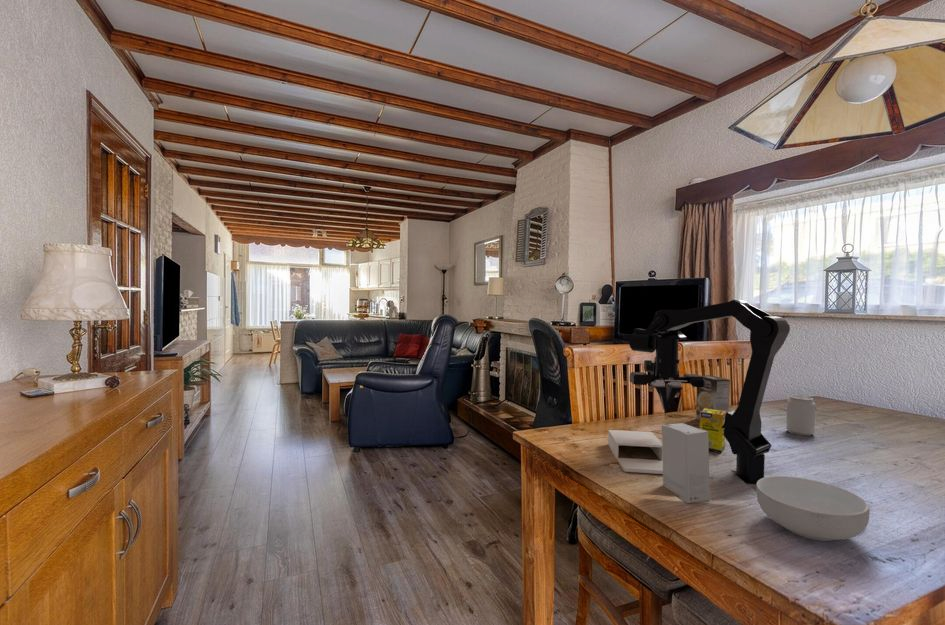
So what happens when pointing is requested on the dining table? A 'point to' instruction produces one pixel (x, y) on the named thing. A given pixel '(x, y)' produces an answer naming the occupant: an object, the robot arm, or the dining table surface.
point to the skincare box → (686, 462)
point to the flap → (641, 465)
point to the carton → (634, 441)
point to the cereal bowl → (812, 508)
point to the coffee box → (713, 394)
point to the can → (801, 415)
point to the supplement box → (713, 428)
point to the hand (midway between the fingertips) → (665, 410)
